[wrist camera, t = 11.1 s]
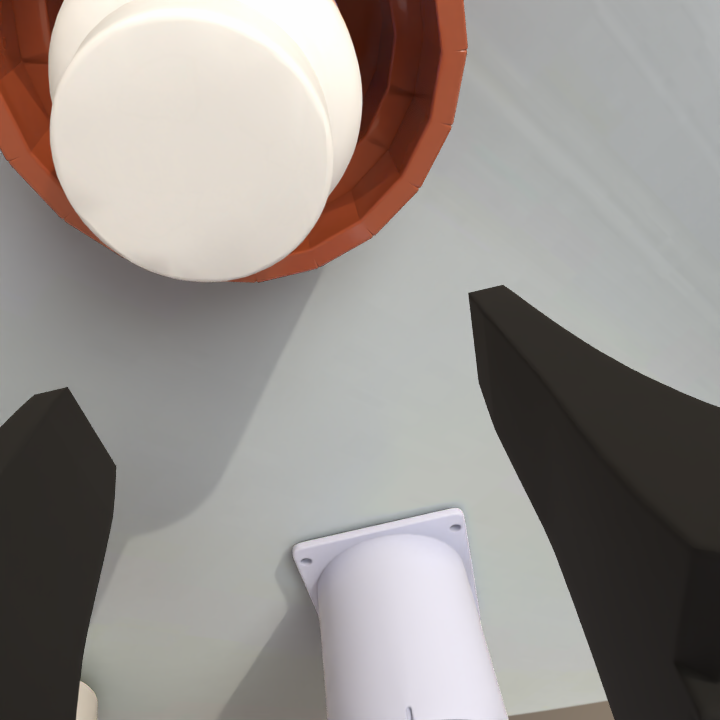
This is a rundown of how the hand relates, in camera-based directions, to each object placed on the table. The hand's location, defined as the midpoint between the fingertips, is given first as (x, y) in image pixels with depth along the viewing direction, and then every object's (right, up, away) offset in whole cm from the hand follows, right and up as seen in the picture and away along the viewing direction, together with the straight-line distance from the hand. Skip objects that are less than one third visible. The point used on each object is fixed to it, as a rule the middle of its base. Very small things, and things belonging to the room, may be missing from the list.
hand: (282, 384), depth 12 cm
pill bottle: (-2, +9, +5) cm, 11 cm away
